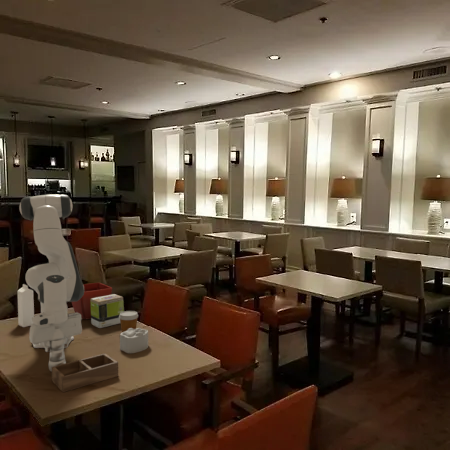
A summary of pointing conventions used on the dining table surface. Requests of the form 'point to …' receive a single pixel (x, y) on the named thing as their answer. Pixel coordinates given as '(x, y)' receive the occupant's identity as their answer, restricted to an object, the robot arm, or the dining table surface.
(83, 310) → the plant pot
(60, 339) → the metal bottle
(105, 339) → the dining table surface
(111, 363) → the bottle carrier
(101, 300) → the tea box
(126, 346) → the lumpy-topped squat cylinder
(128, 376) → the dining table surface
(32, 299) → the milk
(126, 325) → the disposable coffee cup
